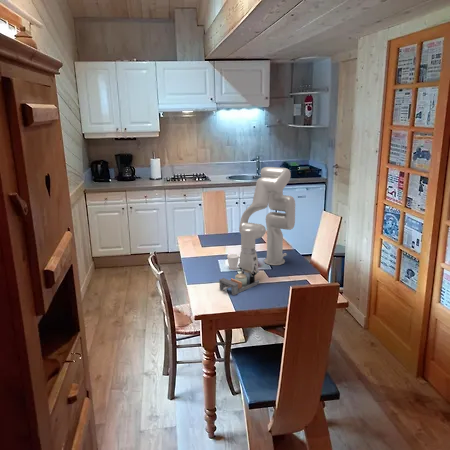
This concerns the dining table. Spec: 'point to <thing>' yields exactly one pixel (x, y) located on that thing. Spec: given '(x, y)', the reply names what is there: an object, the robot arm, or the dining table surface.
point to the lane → (235, 285)
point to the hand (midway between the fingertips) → (248, 280)
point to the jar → (247, 275)
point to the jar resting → (241, 279)
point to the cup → (233, 261)
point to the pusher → (235, 282)
